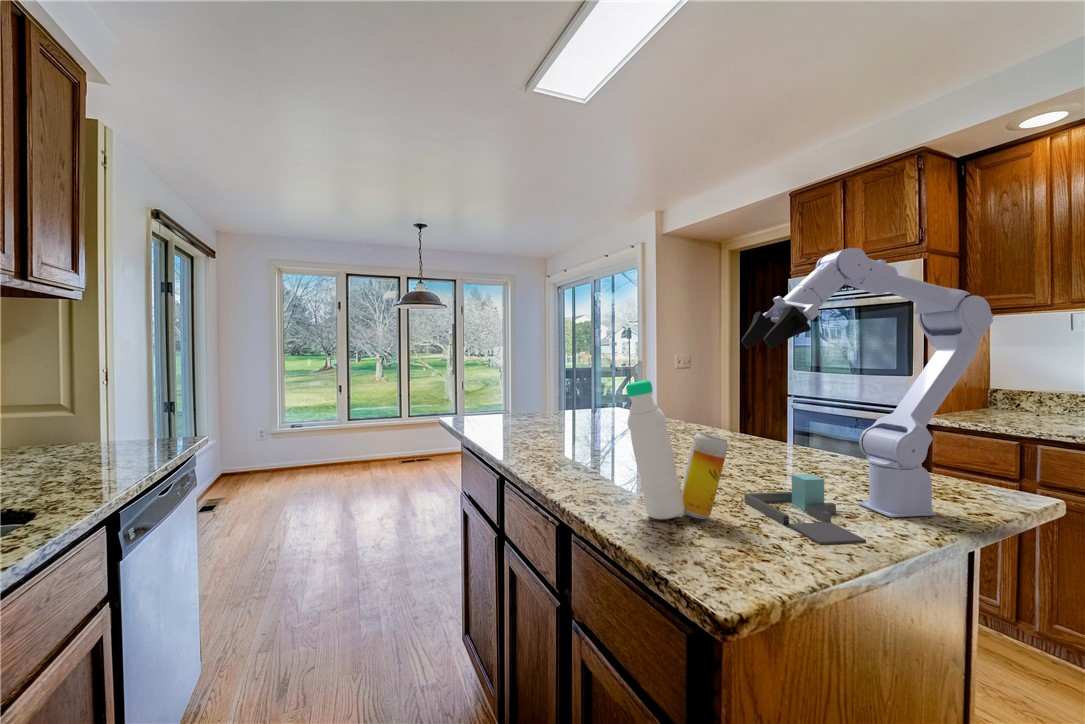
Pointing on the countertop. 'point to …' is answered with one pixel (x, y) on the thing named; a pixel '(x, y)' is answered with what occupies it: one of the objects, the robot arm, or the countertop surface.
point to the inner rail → (821, 511)
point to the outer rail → (760, 501)
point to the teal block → (807, 490)
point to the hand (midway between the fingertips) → (755, 344)
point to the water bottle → (653, 453)
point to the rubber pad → (826, 533)
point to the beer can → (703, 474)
